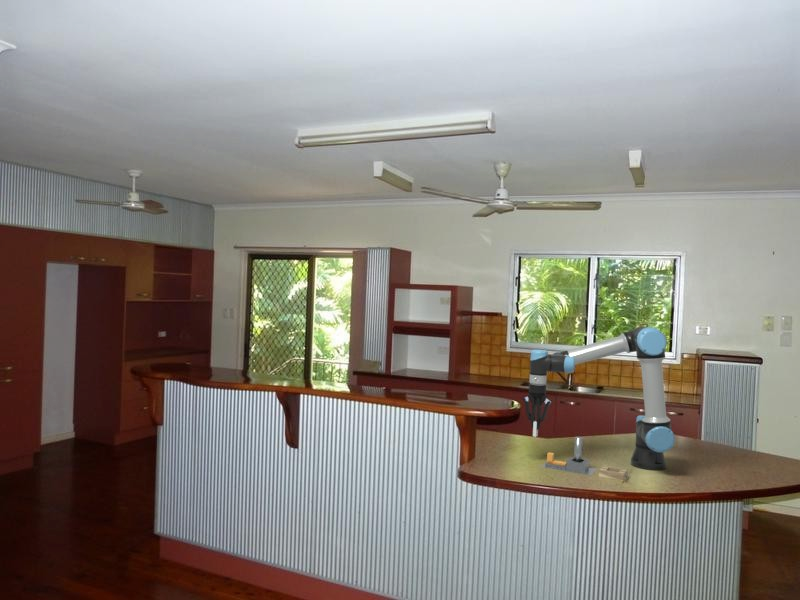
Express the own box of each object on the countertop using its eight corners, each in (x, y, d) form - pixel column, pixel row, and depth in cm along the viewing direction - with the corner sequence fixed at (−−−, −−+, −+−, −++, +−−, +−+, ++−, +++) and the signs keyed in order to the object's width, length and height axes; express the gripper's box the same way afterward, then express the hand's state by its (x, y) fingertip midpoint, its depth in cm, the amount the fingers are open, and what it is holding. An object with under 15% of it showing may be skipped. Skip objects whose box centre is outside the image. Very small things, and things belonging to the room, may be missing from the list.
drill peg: (574, 467, 272) (575, 436, 271) (582, 469, 270) (583, 437, 270) (573, 469, 269) (574, 437, 269) (580, 470, 267) (581, 438, 267)
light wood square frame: (603, 473, 269) (603, 465, 269) (627, 477, 264) (627, 469, 264) (598, 478, 260) (598, 470, 260) (623, 483, 255) (623, 474, 255)
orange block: (548, 463, 277) (549, 452, 277) (567, 466, 273) (567, 455, 273) (546, 464, 275) (547, 453, 274) (565, 468, 270) (565, 456, 270)
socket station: (547, 463, 282) (547, 452, 282) (596, 471, 271) (597, 459, 271) (539, 469, 271) (540, 457, 271) (590, 478, 261) (591, 466, 261)
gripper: (521, 383, 278) (518, 435, 278) (549, 386, 272) (547, 439, 272) (526, 381, 285) (523, 432, 285) (554, 384, 278) (551, 436, 279)
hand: (535, 436), depth 279 cm, fingers closed
